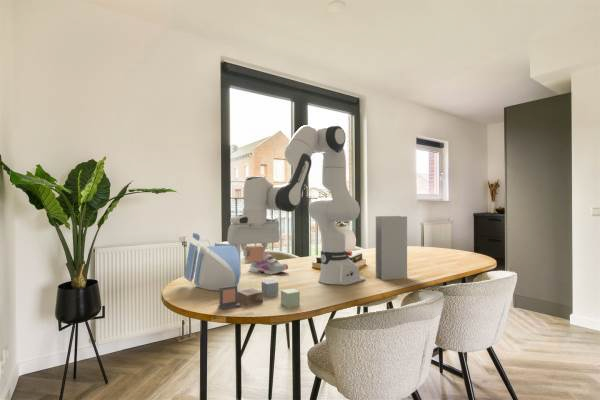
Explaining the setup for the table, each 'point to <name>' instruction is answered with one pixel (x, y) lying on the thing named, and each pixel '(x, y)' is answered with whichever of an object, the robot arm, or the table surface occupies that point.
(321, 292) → the table surface
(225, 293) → the tile
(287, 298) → the sage cube
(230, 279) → the retro all-in-one computer
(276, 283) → the slate cube
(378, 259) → the tall grey pillar
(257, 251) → the terracotta cube
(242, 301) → the brown curved block
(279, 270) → the running shoe
